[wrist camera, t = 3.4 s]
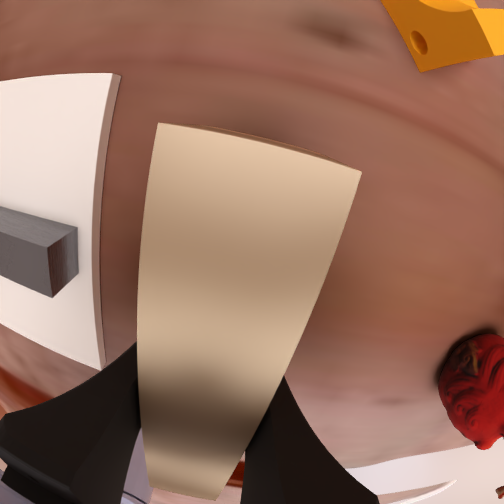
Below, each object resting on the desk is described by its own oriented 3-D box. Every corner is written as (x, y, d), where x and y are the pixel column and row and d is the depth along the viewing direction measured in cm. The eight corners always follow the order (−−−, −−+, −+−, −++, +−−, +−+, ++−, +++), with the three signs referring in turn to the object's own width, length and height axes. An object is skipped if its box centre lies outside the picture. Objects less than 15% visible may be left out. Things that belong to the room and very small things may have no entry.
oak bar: (223, 430, 15) (215, 500, 11) (167, 418, 15) (149, 486, 11) (313, 151, 9) (361, 171, 5) (209, 125, 9) (157, 122, 4)
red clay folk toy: (446, 395, 21) (497, 517, 7) (416, 373, 19) (477, 531, 6) (503, 341, 18) (576, 454, 5) (484, 308, 17) (584, 448, 3)
